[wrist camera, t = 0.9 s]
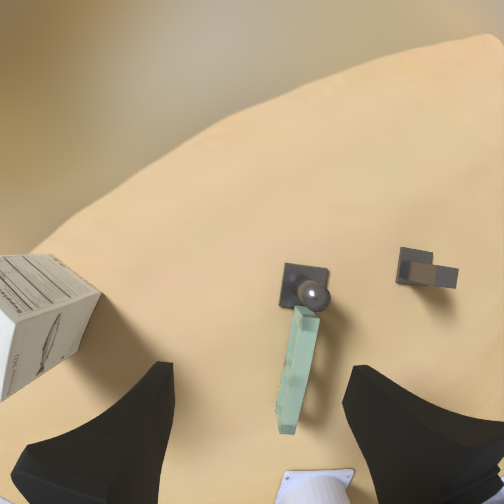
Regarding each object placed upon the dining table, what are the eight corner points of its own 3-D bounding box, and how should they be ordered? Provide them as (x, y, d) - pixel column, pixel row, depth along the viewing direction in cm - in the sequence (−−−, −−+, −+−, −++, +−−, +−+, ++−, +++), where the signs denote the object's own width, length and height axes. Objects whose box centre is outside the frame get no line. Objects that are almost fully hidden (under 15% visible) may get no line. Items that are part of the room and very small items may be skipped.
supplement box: (78, 353, 25) (0, 407, 13) (28, 310, 25) (-57, 339, 12) (105, 292, 25) (16, 326, 13) (50, 249, 25) (-45, 255, 12)
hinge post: (319, 309, 26) (338, 326, 20) (278, 305, 26) (287, 321, 20) (326, 268, 25) (347, 275, 20) (284, 262, 25) (295, 268, 20)
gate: (294, 305, 25) (303, 317, 21) (308, 306, 25) (320, 318, 21) (275, 409, 25) (279, 434, 21) (288, 410, 25) (294, 434, 21)
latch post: (425, 285, 26) (459, 294, 20) (395, 281, 26) (427, 290, 20) (430, 252, 26) (465, 254, 20) (400, 247, 26) (433, 248, 20)
